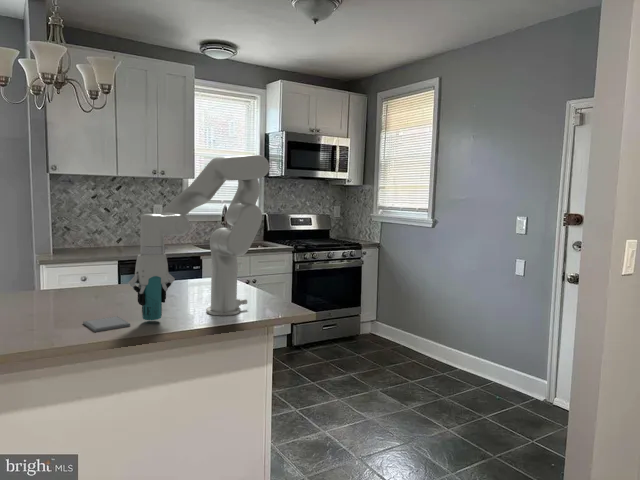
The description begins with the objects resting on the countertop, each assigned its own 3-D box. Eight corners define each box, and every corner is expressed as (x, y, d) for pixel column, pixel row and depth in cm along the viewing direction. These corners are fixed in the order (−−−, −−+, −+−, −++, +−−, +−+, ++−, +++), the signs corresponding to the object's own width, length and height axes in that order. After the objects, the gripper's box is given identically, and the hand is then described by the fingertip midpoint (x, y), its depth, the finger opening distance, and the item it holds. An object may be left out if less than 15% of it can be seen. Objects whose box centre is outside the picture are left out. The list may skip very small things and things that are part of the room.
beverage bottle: (164, 319, 162) (164, 262, 160) (158, 325, 156) (158, 265, 154) (145, 319, 162) (145, 262, 160) (138, 324, 156) (138, 265, 153)
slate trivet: (117, 318, 161) (117, 316, 161) (130, 326, 153) (130, 323, 153) (83, 323, 154) (83, 321, 154) (95, 332, 146) (95, 329, 146)
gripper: (171, 248, 165) (170, 297, 167) (121, 250, 153) (121, 304, 155) (181, 250, 160) (181, 302, 162) (131, 253, 148) (130, 309, 150)
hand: (152, 302), depth 158 cm, fingers closed on beverage bottle, 6 cm apart
